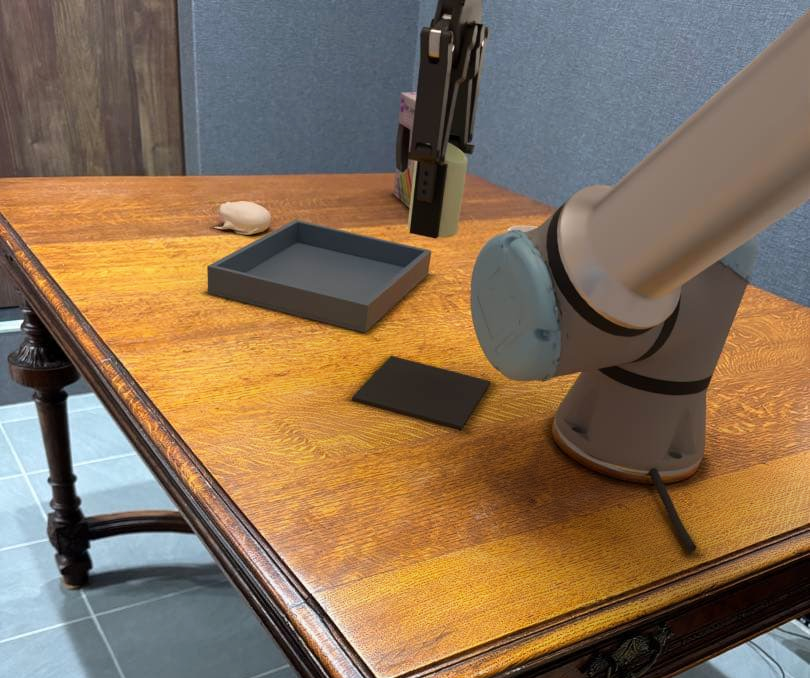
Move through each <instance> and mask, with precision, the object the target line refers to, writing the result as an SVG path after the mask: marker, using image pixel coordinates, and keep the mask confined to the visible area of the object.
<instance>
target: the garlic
mask: <svg viewBox="0 0 810 678" xmlns="http://www.w3.org/2000/svg"><path fill="white" fill-rule="evenodd" d="M217 213H218V217H219V219H220V220H221V221H222V222H223V226H214V229H218V230H223V231H224V230H233V231H235V234H238V235H244V236H245V235H246V236H249V235H254V234H258V233H259V234H260V233H263V232H265V231H266V230H267V229H268V228H269V227H270V225H271V222H272V216H271V212H270V211H269V210H268V209H266V207H264V206H261V205H260V204H257V203H254V202H252V201H247V200H239V201H231V202H230V201H226V202H225V203H221V204H220V207H219V210H218V212H217Z"/></svg>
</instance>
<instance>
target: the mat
mask: <svg viewBox="0 0 810 678" xmlns="http://www.w3.org/2000/svg"><path fill="white" fill-rule="evenodd" d="M490 385H491V381H490V380H487V379H483V378H480V377H476V376H472V375H468V374H465V373H461V372H457V371H452V370H449V369H444V368H440V367H437V366H433V365H430V364H425V363H422V362H418V361H414V360H409V359H405V358H401V357H397V356H394V355H390V356H389V358H387V359H386V360H385V361H384V362H383V364H381V366H380V367H379V368H378V369H377V370H376V371H375V372H374V373H373V374H372V375H371V376H370V377H369V379H368V380H367V381H366V382H365V383H364V384H362V386H361V387H360V388H359V389H358V390H357V391H356V393H354V395H352V397H351V401H353V402H357V403H362V404H365V405H367V406H368V405H369V406H372V407H376V408H380V409H383V410H387V411H390V412H394V413H398V414H401V415H406V416H409V417H413V418H416V419H421V420H423V421H424V420H425V421H427V422H431V423H434V424H437V425H442V426H446V427H450V428H454V429H458V430H462V429H463V428H464V426H465V425H466V423H467V422H468V420H469V419H470V417H471V415H472V414H473V412H474V411H475V409H476V407H477V406H478V404H479V403H480V402H481V399H482V398H483V396H484V394H485V393H486V391H487V390H488V388H489V386H490Z"/></svg>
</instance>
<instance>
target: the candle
mask: <svg viewBox="0 0 810 678" xmlns="http://www.w3.org/2000/svg"><path fill="white" fill-rule="evenodd" d="M427 144H428V143H427ZM468 162H469V160H468V157H467V155H466V153H463V152H462V151H461V150H460V149H458V148H457V147H456V146H454V145H452V144H451V143H449V142H448V144H447V150H446V155H445V162H444V163H443V164H447V165H448V166H447V173H446V181H445V189H444V196H443V204H442V212H441V220H440V227H439V235H438V238H437V239H439V238H451V237H454V236H456V235H457V234H458V231H459V226H460V225H459V224H460V217H461V212H462V205H463V199H464V198H463V197H464V189H465V184H466V176H467V168H468ZM416 169H417V161H415V163H414V172H413V181H412V191H411V200H410V208H408V220H407V228H408V229H409V230H410V224H411V215H412V206H413V197H414V187H415V178H416Z"/></svg>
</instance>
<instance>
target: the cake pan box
mask: <svg viewBox="0 0 810 678" xmlns="http://www.w3.org/2000/svg"><path fill="white" fill-rule="evenodd" d="M416 94H417V91H408V92H400V98H399V108H398V109H399V112H398V128H397V132H396V142H395V143H396V144H395V166H396V167H395V171H394V172H395V174H394V185H393V195H394V196H395V197H396V198H397V199H398V200H399V201H401V202H402V203H403V204H404V205H405V206H406V207H407V208H408V209H410V200H411V191H412V181H413V172H414V163H415V161H414V160H409V159H408V152H410V147H411V140H412V131H413V122H414V113H415V103H416Z"/></svg>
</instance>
